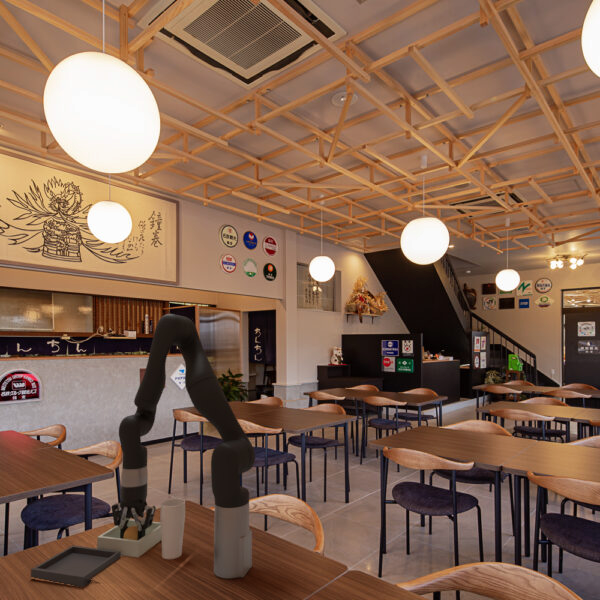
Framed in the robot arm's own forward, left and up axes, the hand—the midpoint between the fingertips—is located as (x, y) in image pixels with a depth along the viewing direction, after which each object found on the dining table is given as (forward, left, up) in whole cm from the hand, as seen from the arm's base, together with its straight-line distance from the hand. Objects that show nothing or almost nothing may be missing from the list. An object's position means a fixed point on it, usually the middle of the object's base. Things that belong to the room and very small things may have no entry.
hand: (132, 541), depth 129 cm
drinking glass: (-15, +3, -2) cm, 15 cm away
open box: (0, 0, -2) cm, 2 cm away
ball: (0, 0, -1) cm, 1 cm away
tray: (+6, +15, -2) cm, 16 cm away
